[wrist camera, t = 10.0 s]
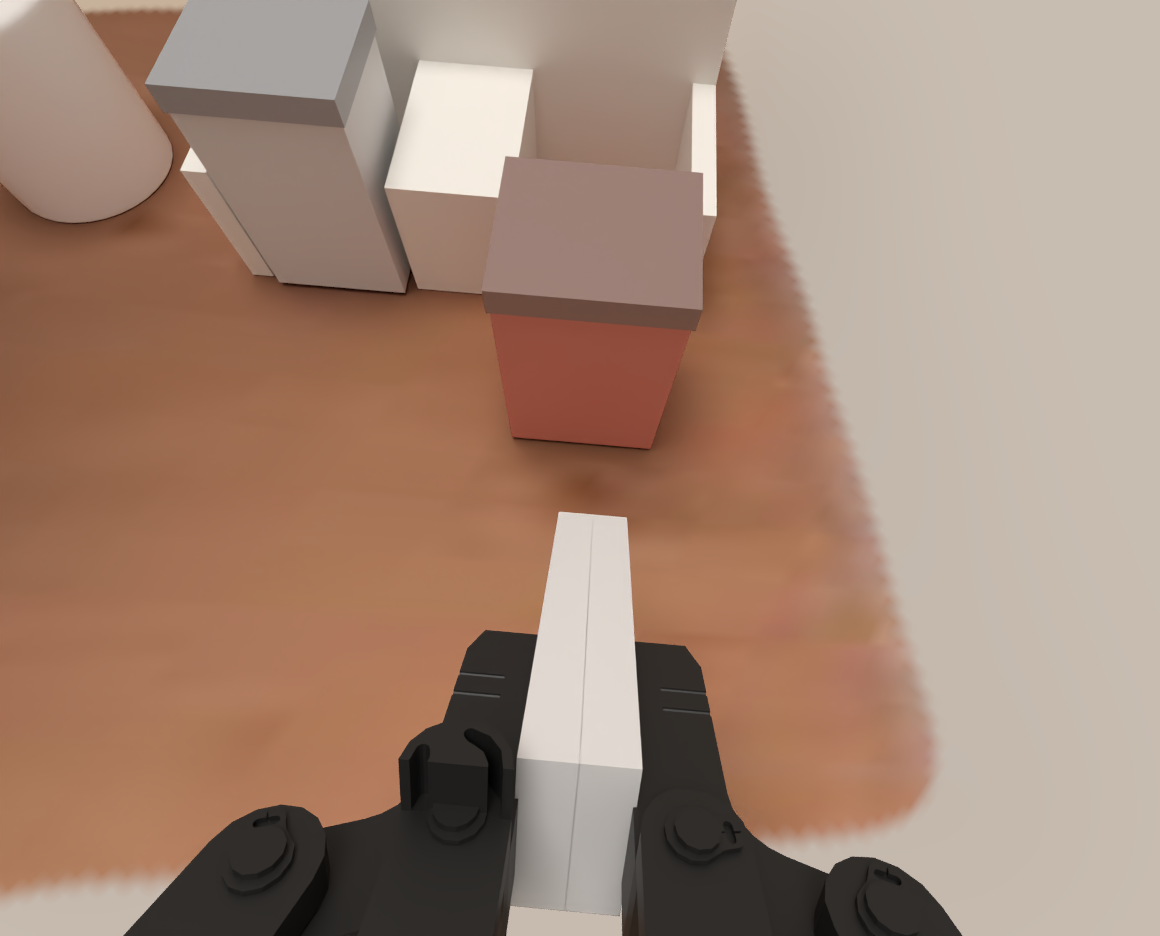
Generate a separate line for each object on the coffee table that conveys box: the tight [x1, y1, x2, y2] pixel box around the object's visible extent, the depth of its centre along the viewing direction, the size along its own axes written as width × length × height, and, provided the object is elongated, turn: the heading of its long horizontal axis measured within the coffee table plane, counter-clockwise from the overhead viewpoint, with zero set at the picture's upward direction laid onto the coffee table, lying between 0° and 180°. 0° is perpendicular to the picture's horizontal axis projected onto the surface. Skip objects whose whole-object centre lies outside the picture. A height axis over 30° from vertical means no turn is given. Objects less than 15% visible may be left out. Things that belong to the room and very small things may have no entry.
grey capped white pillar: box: [145, 0, 411, 293], centre depth 25 cm, size 6×5×10 cm
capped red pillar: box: [482, 156, 703, 449], centre depth 22 cm, size 6×5×10 cm
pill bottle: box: [0, 0, 173, 223], centre depth 26 cm, size 8×8×11 cm
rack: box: [180, 0, 736, 294], centre depth 26 cm, size 21×10×10 cm, turn 85°
